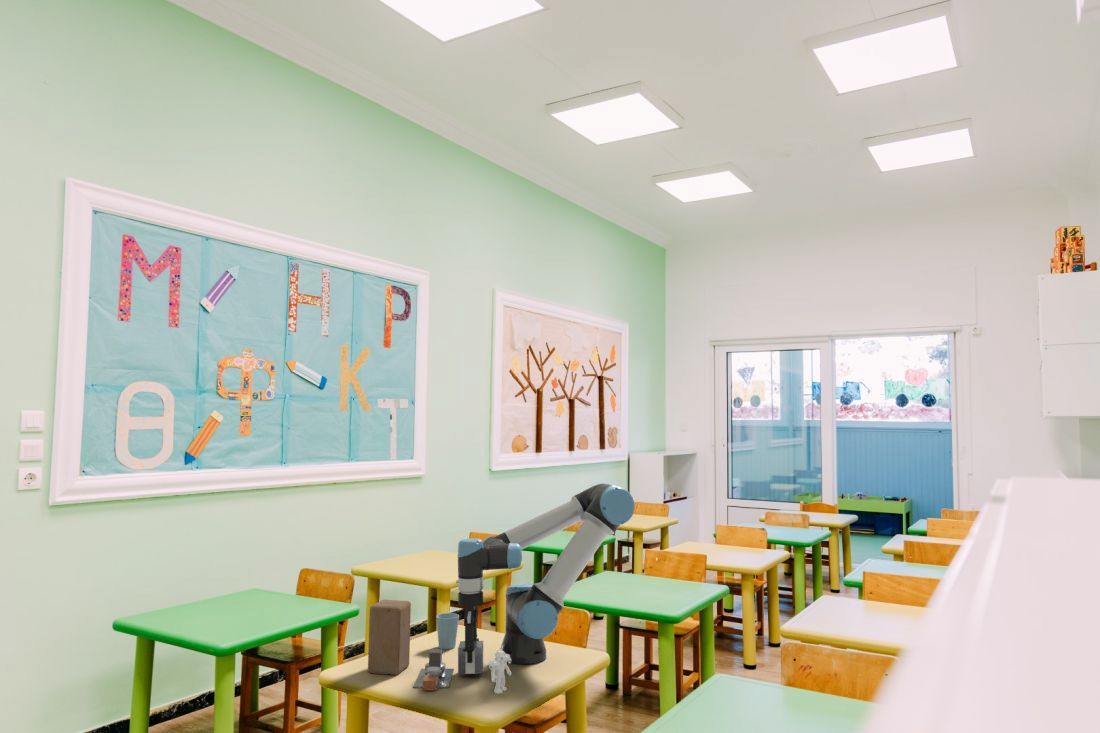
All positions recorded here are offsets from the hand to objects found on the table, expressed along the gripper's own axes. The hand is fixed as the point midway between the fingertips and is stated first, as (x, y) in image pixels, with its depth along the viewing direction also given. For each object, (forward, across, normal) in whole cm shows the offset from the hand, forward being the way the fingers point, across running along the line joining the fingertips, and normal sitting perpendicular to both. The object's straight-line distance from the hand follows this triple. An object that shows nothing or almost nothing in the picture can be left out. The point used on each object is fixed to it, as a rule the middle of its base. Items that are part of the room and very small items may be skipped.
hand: (471, 668), depth 222 cm
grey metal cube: (0, 0, 0) cm, 0 cm away
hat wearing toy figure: (+2, +13, +9) cm, 16 cm away
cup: (+2, -29, -11) cm, 31 cm away
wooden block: (+1, -5, -26) cm, 26 cm away
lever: (+2, +5, -11) cm, 12 cm away
